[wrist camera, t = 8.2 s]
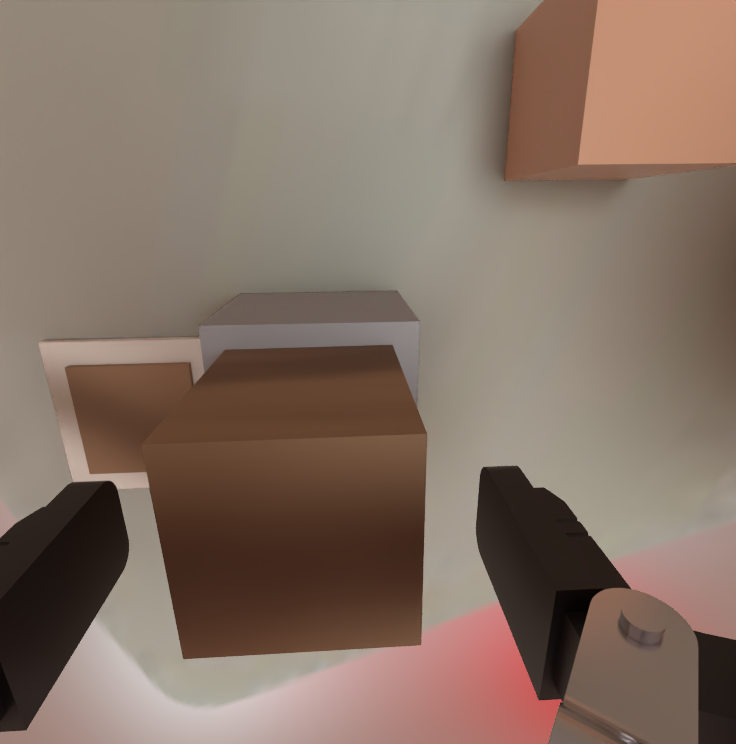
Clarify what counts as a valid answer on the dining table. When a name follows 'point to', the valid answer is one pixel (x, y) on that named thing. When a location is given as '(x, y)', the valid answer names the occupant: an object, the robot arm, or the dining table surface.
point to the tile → (116, 399)
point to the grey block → (315, 325)
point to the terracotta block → (623, 89)
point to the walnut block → (293, 503)
